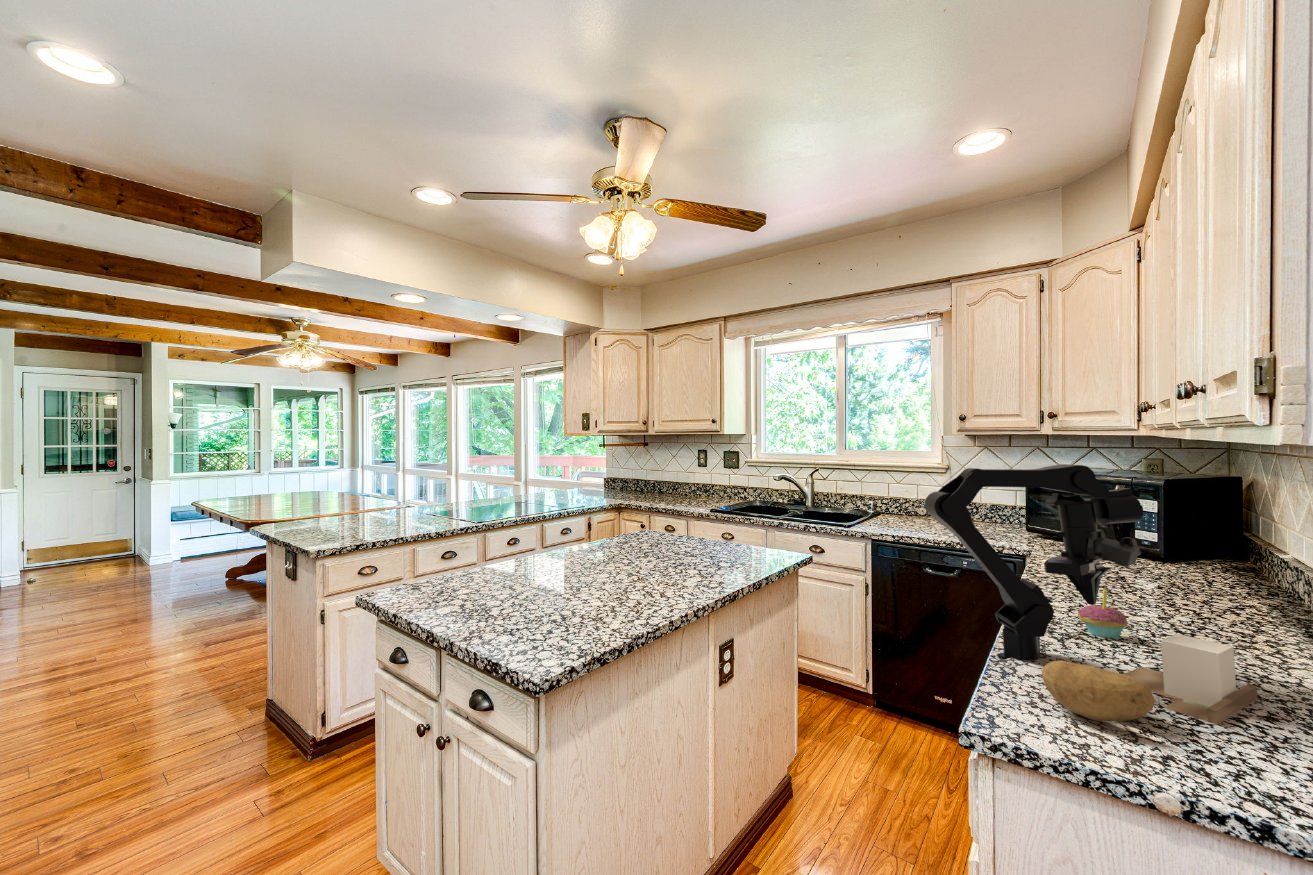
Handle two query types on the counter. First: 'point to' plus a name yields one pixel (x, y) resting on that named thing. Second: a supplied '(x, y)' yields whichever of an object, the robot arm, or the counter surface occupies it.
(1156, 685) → the lane board
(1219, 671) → the block
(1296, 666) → the counter surface
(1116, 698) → the potato
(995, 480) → the robot arm
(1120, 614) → the cupcake
